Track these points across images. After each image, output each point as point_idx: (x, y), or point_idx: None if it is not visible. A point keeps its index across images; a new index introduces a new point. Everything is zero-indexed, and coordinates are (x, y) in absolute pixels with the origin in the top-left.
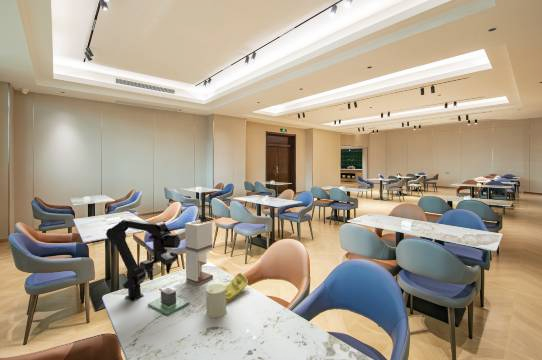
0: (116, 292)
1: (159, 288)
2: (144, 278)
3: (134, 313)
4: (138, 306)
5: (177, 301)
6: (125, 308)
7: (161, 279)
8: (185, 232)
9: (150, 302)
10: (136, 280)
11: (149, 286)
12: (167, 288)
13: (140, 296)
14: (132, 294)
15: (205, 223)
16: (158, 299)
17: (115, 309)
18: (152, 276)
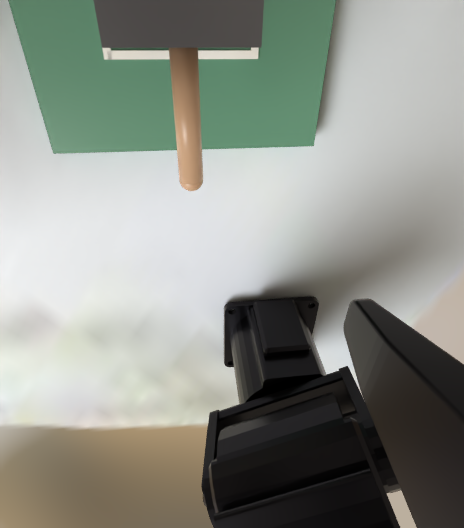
0: None
1: (192, 183)
2: (229, 437)
3: (455, 110)
4: (352, 192)
5: None
6: (406, 241)
7: (6, 409)
8: None
9: (289, 142)
10: (362, 433)
11: (121, 380)
12: (121, 19)
13: (255, 302)
14: (309, 338)
15: None
16: (206, 129)
17: (434, 276)
18: (420, 359)
